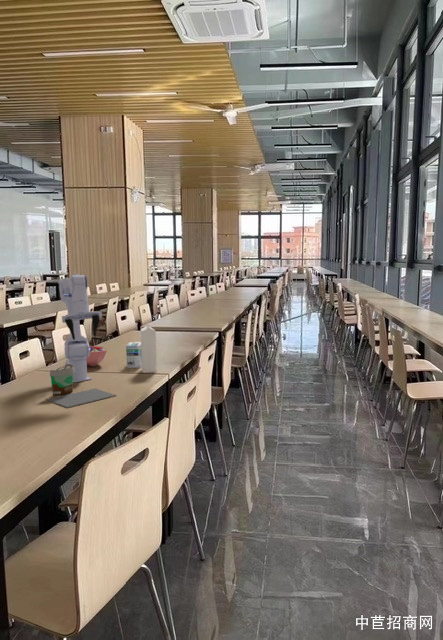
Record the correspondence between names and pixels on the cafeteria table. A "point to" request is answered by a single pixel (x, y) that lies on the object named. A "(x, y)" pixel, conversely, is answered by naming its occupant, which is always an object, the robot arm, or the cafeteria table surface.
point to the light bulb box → (133, 355)
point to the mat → (81, 398)
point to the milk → (148, 349)
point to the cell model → (96, 355)
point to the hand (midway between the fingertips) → (84, 337)
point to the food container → (62, 380)
